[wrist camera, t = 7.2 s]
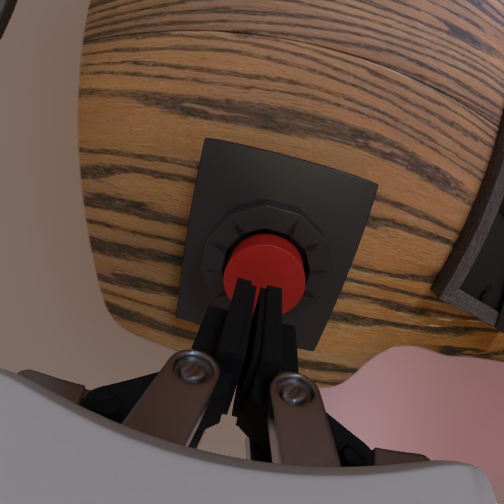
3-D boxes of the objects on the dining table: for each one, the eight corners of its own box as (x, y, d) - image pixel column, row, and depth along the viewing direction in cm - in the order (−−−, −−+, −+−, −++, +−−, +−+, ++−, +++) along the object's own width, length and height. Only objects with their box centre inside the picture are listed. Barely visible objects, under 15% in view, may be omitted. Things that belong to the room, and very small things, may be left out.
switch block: (311, 333, 21) (315, 369, 17) (184, 301, 21) (166, 332, 17) (367, 179, 16) (390, 189, 13) (213, 138, 16) (195, 136, 13)
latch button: (291, 307, 16) (291, 325, 14) (223, 290, 16) (216, 306, 14) (312, 244, 14) (316, 256, 13) (237, 224, 14) (232, 235, 13)
